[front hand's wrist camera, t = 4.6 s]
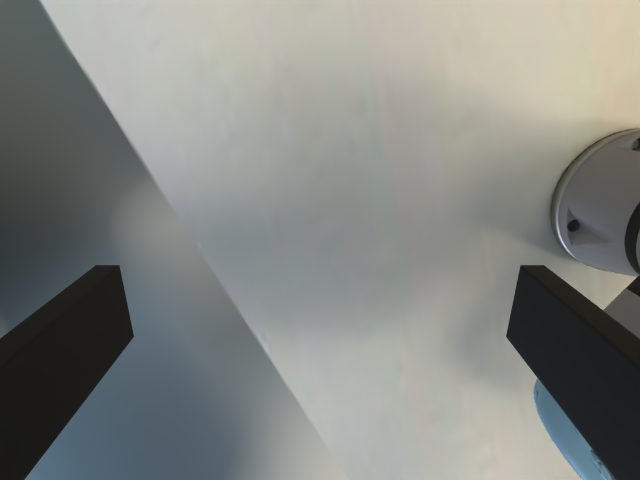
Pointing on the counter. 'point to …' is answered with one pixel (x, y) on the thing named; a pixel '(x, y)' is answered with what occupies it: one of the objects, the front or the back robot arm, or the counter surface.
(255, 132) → the counter surface
